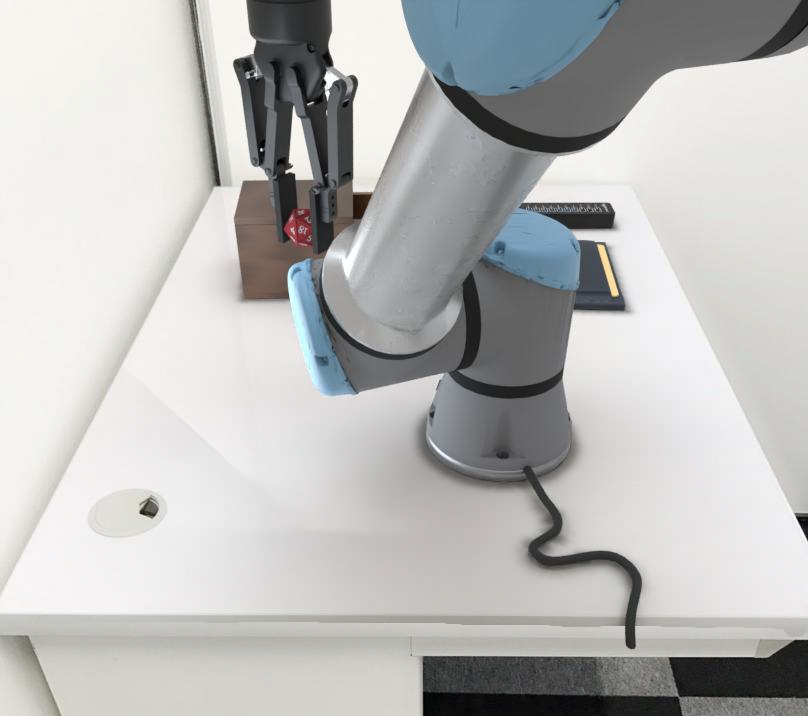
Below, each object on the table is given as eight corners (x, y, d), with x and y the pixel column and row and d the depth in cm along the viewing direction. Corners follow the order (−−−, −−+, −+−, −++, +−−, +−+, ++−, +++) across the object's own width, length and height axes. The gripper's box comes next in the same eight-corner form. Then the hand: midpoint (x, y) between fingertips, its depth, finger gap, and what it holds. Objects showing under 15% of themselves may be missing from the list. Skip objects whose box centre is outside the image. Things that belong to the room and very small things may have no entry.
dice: (283, 240, 92) (280, 203, 89) (324, 237, 93) (323, 200, 90) (286, 255, 89) (283, 217, 87) (328, 252, 90) (327, 215, 87)
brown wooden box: (355, 255, 123) (352, 179, 115) (355, 297, 113) (353, 216, 106) (252, 257, 122) (242, 180, 115) (244, 298, 113) (233, 218, 105)
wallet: (506, 230, 125) (611, 234, 124) (505, 243, 126) (609, 247, 125) (509, 293, 110) (627, 298, 109) (507, 307, 111) (625, 312, 111)
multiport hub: (516, 216, 133) (517, 202, 132) (607, 216, 134) (610, 202, 132) (519, 228, 130) (521, 213, 128) (613, 228, 130) (616, 213, 129)
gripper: (391, -8, 74) (391, 251, 90) (244, -32, 81) (269, 213, 97) (338, 7, 69) (348, 278, 85) (187, -19, 76) (222, 235, 92)
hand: (306, 243), depth 91 cm, fingers closed on dice, 4 cm apart
